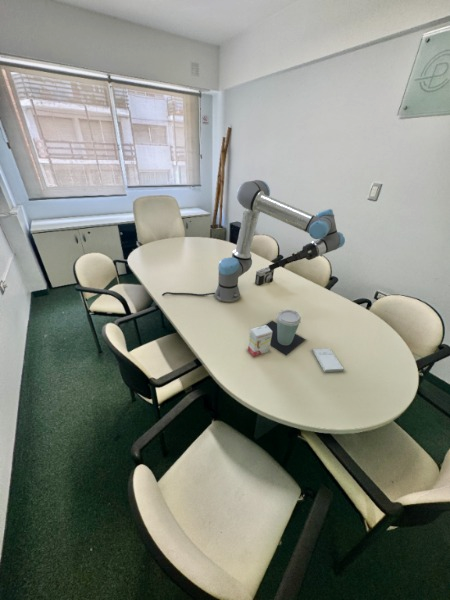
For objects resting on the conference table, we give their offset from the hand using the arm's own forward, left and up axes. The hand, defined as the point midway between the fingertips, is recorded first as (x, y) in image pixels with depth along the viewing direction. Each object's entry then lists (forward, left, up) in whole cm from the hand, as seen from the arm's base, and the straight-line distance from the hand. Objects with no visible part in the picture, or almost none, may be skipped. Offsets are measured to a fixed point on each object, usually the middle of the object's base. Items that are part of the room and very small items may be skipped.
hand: (274, 266), depth 114 cm
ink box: (-4, -25, -31) cm, 40 cm away
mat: (+6, -14, -31) cm, 34 cm away
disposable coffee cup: (+8, -17, -31) cm, 36 cm away
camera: (+1, +43, -31) cm, 54 cm away
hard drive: (+26, -27, -31) cm, 48 cm away
